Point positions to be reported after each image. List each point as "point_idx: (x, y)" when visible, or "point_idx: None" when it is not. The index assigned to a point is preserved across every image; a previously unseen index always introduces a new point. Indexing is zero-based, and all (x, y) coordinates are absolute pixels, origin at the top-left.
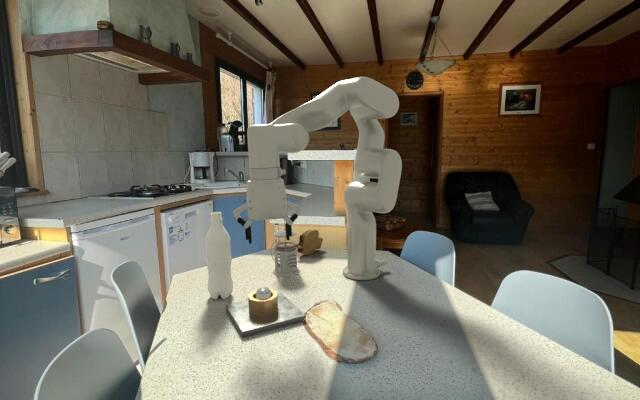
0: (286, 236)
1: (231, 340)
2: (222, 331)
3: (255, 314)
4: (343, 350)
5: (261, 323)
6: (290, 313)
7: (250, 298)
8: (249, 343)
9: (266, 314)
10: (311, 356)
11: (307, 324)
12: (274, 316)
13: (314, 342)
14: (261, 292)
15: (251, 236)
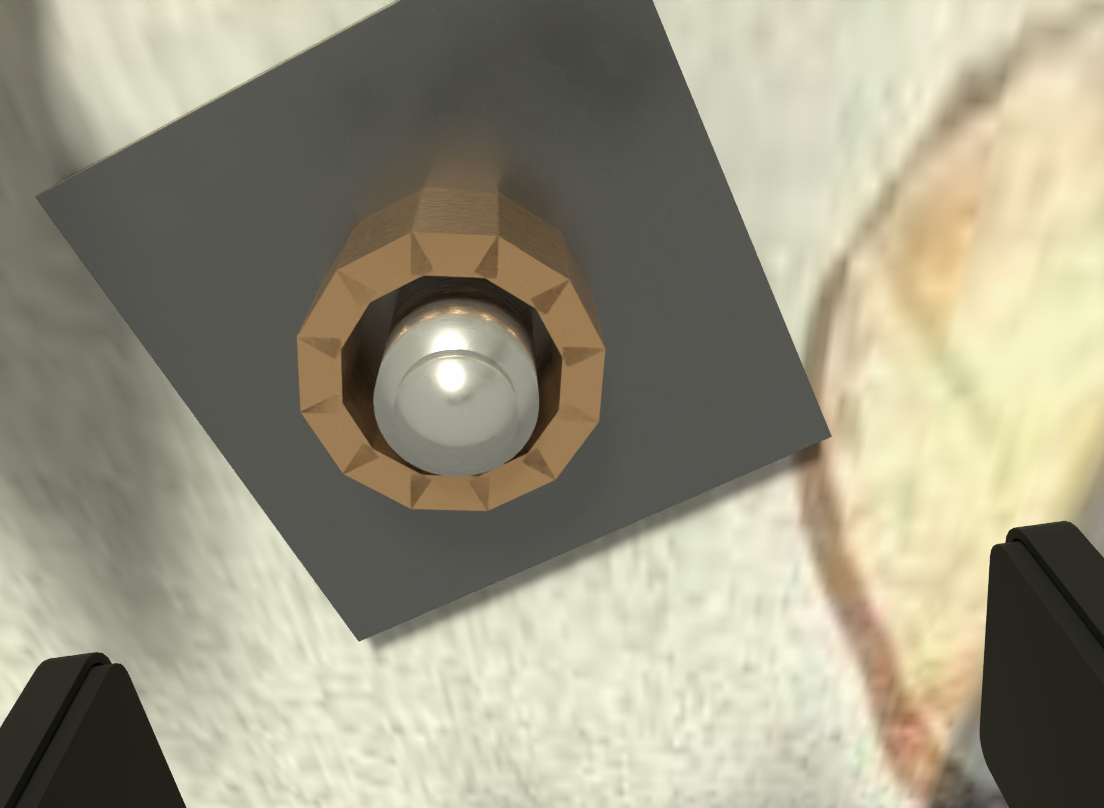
0: (1013, 750)
1: (293, 632)
2: (184, 529)
3: None
4: None
5: (477, 541)
6: (707, 401)
7: (335, 450)
8: (425, 664)
9: None
10: (802, 777)
11: (825, 462)
12: None
13: (840, 665)
14: (446, 465)
15: (96, 774)
